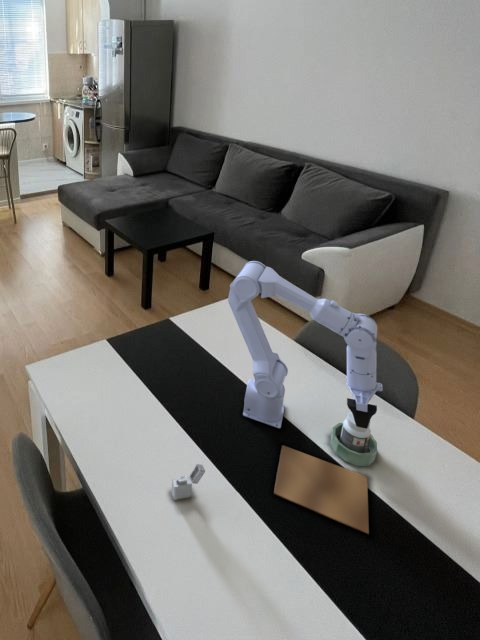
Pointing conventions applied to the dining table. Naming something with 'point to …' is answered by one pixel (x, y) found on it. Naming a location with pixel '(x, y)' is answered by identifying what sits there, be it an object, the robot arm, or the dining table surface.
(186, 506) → the dining table surface
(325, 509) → the cork mat
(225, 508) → the dining table surface
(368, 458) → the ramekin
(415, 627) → the dining table surface
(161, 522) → the dining table surface
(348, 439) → the pill bottle
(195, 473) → the lighter
